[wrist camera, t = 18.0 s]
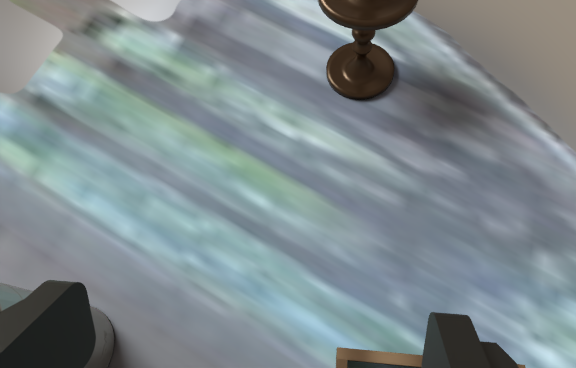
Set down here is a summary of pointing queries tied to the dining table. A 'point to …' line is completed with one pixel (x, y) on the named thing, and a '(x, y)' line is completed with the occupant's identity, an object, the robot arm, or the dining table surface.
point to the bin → (379, 358)
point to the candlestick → (363, 45)
